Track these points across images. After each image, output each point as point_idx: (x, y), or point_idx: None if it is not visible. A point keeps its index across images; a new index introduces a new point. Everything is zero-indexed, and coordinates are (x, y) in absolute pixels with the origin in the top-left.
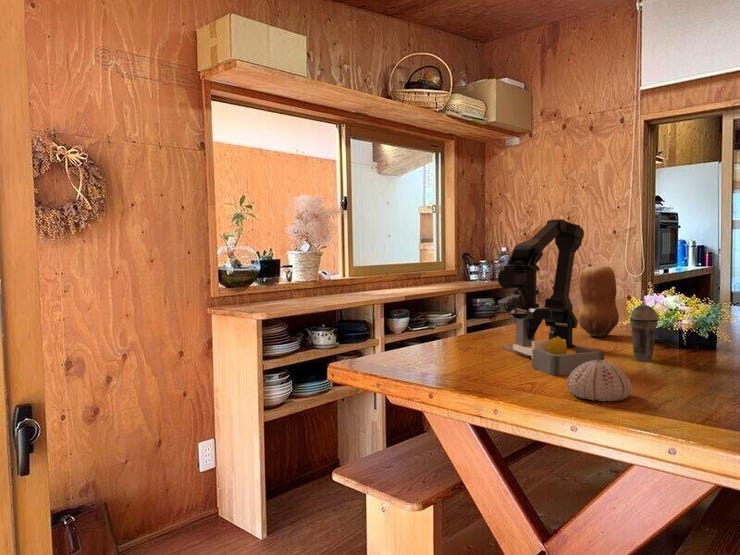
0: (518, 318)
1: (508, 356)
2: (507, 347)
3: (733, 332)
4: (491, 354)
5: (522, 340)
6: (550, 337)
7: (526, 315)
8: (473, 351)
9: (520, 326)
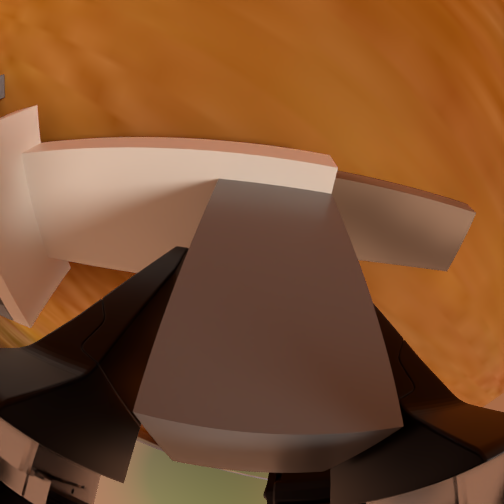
0: (352, 440)
1: (265, 65)
2: (421, 196)
3: (251, 476)
4: (378, 19)
5: (217, 203)
6: None
7: (343, 487)
8: (486, 23)
9: (244, 315)
